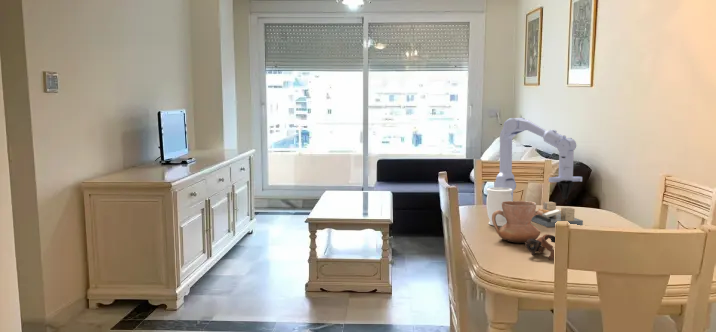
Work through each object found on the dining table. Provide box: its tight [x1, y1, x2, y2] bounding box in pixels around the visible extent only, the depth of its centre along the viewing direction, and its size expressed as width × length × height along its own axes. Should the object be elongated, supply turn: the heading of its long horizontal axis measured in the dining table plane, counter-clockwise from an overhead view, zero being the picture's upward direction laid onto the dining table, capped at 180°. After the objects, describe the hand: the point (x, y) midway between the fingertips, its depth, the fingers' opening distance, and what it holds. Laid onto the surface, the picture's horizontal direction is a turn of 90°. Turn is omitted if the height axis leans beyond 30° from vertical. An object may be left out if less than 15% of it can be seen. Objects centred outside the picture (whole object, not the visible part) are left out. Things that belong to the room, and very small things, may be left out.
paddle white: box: [542, 208, 561, 218], centre depth 246 cm, size 7×3×2 cm, turn 102°
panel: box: [531, 201, 584, 228], centre depth 246 cm, size 16×18×7 cm
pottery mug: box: [525, 233, 556, 261], centre depth 190 cm, size 12×9×8 cm
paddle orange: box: [537, 208, 556, 216], centre depth 249 cm, size 7×3×2 cm, turn 101°
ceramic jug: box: [492, 200, 543, 244], centre depth 212 cm, size 18×14×14 cm
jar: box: [486, 186, 512, 227], centre depth 241 cm, size 11×10×15 cm
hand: (564, 198), depth 246 cm, fingers closed
